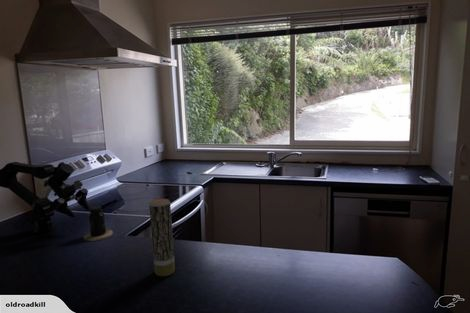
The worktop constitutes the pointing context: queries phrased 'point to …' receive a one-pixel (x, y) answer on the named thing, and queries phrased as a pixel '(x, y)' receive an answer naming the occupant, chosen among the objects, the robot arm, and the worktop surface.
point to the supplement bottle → (97, 221)
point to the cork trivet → (98, 238)
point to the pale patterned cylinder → (162, 237)
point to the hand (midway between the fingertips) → (81, 213)
